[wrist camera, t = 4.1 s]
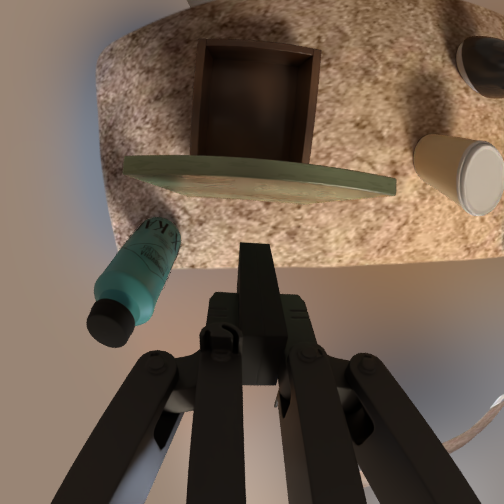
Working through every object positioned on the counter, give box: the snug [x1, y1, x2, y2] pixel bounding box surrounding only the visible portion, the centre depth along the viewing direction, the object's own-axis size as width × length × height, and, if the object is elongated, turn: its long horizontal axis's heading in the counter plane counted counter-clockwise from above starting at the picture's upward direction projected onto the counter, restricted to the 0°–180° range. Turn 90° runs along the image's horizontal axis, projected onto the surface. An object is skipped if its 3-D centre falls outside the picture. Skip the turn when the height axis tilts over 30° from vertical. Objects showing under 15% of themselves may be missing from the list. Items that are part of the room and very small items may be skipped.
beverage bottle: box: [87, 217, 182, 348], centre depth 28 cm, size 6×7×20 cm
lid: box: [123, 155, 396, 205], centre depth 19 cm, size 17×12×1 cm
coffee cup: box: [413, 134, 504, 216], centre depth 28 cm, size 9×9×12 cm
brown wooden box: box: [190, 39, 321, 164], centre depth 27 cm, size 16×12×8 cm
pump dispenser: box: [456, 36, 504, 99], centre depth 18 cm, size 10×10×15 cm
